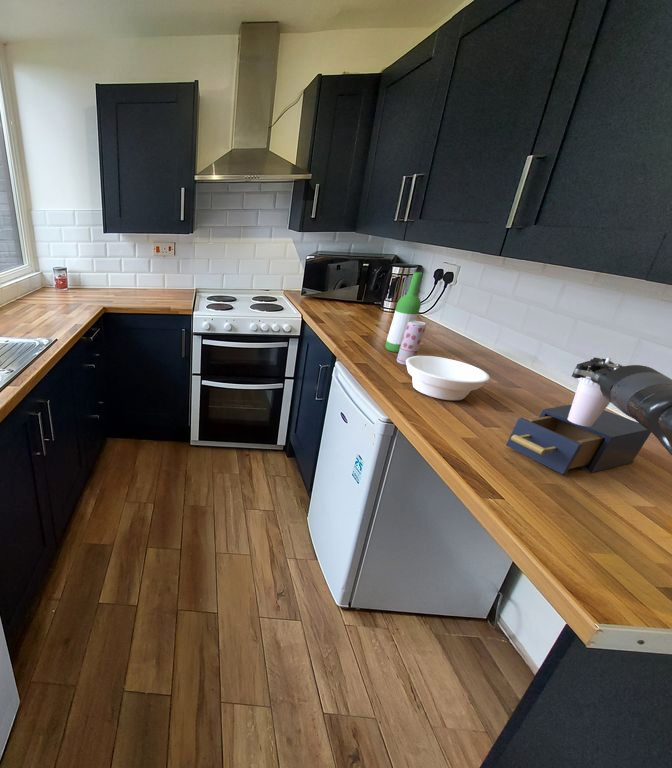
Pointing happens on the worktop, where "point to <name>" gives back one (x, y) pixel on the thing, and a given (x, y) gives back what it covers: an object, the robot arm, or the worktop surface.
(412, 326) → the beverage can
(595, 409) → the smoothie
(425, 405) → the worktop surface
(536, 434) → the drawer
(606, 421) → the cabinet
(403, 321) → the wine bottle
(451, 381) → the bowl
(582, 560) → the worktop surface
